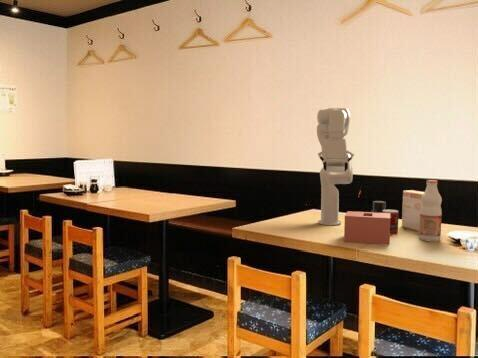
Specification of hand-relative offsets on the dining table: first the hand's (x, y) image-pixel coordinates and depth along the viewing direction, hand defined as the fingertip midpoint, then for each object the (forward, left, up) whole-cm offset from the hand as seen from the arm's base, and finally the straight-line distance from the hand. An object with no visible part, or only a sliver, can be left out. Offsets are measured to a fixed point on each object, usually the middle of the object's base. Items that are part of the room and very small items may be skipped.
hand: (335, 170), depth 238 cm
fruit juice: (-1, +44, -32) cm, 55 cm away
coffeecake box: (-27, +39, -32) cm, 57 cm away
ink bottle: (-37, +20, -32) cm, 53 cm away
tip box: (+9, +16, -32) cm, 37 cm away
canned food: (-13, +26, -32) cm, 43 cm away
